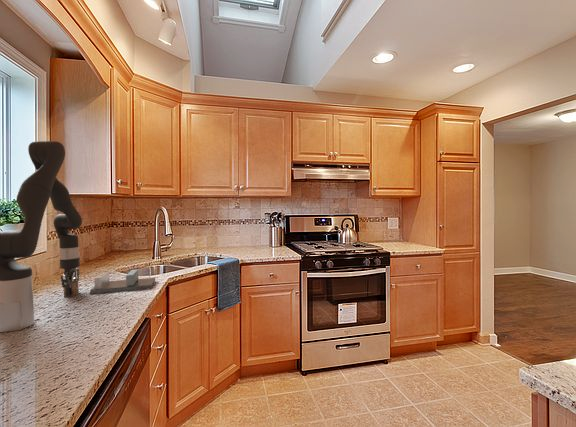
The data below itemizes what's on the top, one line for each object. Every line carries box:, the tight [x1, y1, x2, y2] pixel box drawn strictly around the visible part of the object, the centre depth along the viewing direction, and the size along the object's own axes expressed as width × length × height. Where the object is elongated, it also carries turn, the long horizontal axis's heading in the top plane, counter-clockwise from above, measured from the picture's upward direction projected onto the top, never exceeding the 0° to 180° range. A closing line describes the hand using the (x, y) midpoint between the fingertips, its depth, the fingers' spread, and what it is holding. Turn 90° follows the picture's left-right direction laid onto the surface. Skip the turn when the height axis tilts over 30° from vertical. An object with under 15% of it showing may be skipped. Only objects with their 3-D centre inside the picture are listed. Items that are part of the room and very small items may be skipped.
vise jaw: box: [125, 269, 139, 286], centre depth 152 cm, size 12×3×5 cm, turn 16°
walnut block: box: [63, 281, 80, 298], centre depth 139 cm, size 5×4×6 cm
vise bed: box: [90, 271, 156, 295], centre depth 151 cm, size 14×26×7 cm, turn 106°
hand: (71, 293), depth 139 cm, fingers closed on walnut block, 5 cm apart
